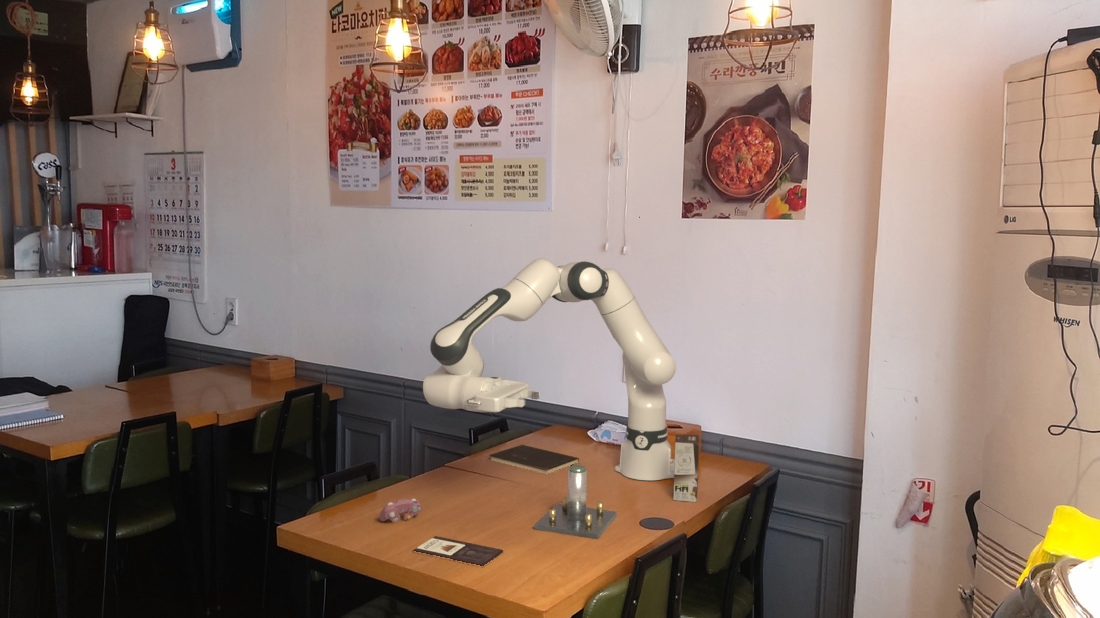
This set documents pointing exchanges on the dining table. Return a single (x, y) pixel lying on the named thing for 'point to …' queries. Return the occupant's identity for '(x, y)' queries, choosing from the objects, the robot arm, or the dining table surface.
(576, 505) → the canister
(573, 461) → the hardcover book
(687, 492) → the coffee box
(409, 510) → the video game controller
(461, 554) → the chocolate bar
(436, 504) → the dining table surface
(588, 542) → the dining table surface
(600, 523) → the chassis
